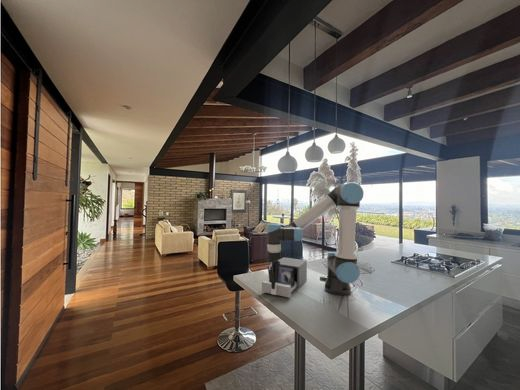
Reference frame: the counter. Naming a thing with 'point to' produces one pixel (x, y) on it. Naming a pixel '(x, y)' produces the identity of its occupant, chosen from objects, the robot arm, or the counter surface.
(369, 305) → the counter surface
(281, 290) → the grey drawer
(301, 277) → the housing
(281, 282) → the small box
